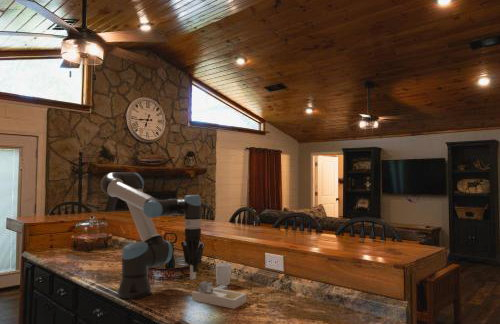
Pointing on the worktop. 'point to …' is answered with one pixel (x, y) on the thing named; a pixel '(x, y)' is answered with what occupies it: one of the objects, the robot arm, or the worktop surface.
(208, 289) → the clip
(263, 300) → the worktop surface
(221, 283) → the white cup
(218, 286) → the grey tall rectangular block
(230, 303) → the box with sliding lid
